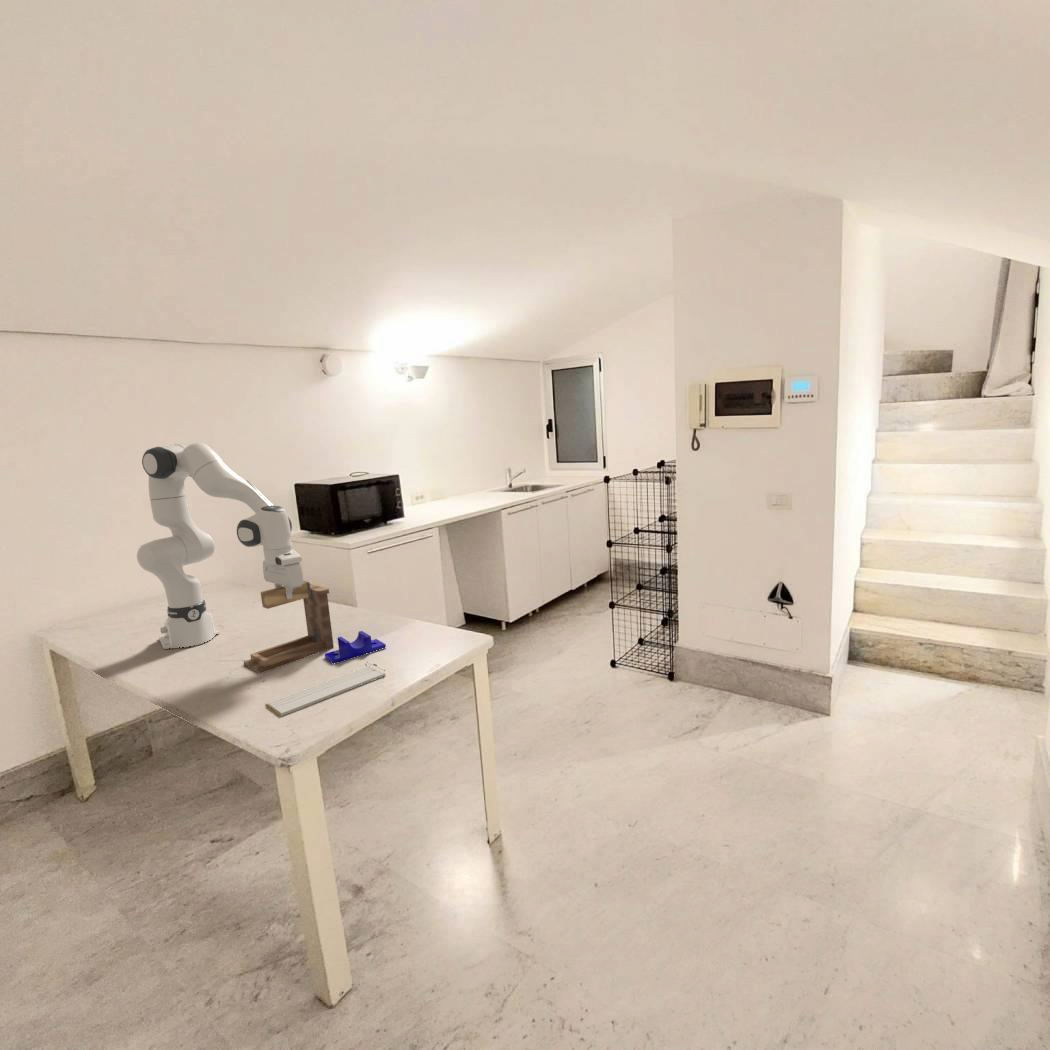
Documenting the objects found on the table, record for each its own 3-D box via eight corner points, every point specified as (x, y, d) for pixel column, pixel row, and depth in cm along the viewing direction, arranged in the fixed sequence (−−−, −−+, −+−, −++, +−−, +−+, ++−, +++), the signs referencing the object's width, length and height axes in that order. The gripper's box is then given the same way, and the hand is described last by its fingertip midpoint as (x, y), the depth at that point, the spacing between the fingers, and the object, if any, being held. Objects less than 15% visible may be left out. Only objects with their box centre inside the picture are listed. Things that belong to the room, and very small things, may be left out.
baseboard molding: (264, 705, 164) (282, 718, 155) (262, 695, 163) (280, 708, 155) (365, 667, 185) (386, 678, 177) (364, 658, 184) (385, 668, 176)
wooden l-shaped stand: (243, 664, 193) (234, 602, 189) (316, 639, 211) (309, 583, 208) (261, 673, 184) (252, 609, 180) (335, 647, 202) (328, 588, 199)
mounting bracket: (333, 665, 188) (331, 647, 187) (325, 659, 194) (322, 641, 193) (386, 649, 199) (384, 632, 198) (376, 643, 205) (375, 627, 203)
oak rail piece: (262, 607, 191) (260, 591, 190) (305, 595, 202) (303, 580, 201) (268, 608, 189) (265, 593, 188) (311, 596, 199) (309, 582, 199)
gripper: (255, 555, 197) (261, 595, 199) (284, 561, 183) (291, 604, 186) (273, 551, 202) (279, 590, 204) (304, 556, 188) (309, 599, 190)
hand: (285, 597), depth 195 cm, fingers closed on oak rail piece, 3 cm apart
